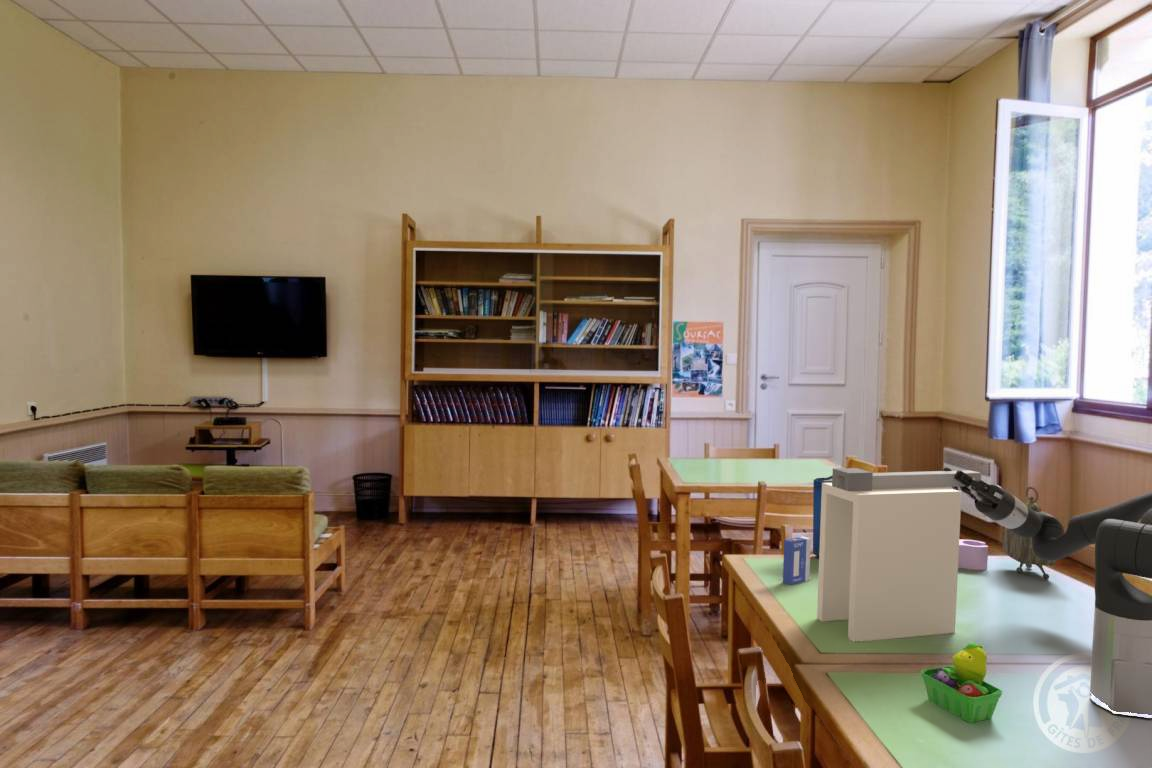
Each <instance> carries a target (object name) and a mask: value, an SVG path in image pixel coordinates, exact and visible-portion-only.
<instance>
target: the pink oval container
mask: <svg viewBox="0 0 1152 768" xmlns="http://www.w3.org/2000/svg"><path fill="white" fill-rule="evenodd" d="M986 544H987V543H986V542H984V541H980V540H973V539H963V538H961V539H960V538H959V557H958V569H966V570H967V569H968V570H972V571H973V570H974V571H985V570H987V569H988V560H989V559H988V557H989V545H986Z"/></svg>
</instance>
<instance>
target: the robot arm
mask: <svg viewBox="0 0 1152 768" xmlns="http://www.w3.org/2000/svg"><path fill="white" fill-rule="evenodd" d="M942 469H943V470H942V471H953V470H952V469H950V468H949V467H944V468H942ZM956 471H957V472H956V475H955V477H954V478H955V479H956V480H958V481H959V482H961V483H962V484H964V485H965V486H956V487H951V489H954V490H958V491H962V494H964V495H966V496H967V497H968V498H969V499H971V500H973V501H974V506H975V509H976V511H978V512H980V513H981V514H983V515H984V516H986V517H987V518H988V519H990V520H991V521H993V522H994V523H996V524H998V525H999V526H1001V527H1003V526H1004V527H1006V528H1007V529H1009V530H1010V531H1012V532H1013V533H1015V534H1016V535H1018V536H1020V537H1023V538H1030V537H1031V539H1032V548H1033V552H1034V554H1035V555H1036V556H1037V557H1039V558H1041V559H1043V560H1048V561H1055V560H1056V561H1059V560H1062V559H1065V558H1067V557H1069V556H1071V555H1073V554H1075V553H1076V552H1078V551H1081V550H1083V549H1084V548H1086V547H1088V546H1090V545H1094V566H1095V567H1094V575H1095V576H1094V595H1095V597H1094V615H1093V616H1094V618H1093V629H1092V630H1093V631H1092V647H1091V648H1092V649H1091V665H1090V685H1089V686H1090V687H1089V693H1090V692H1091V693H1092V694H1093V695H1094V696H1095V697H1096V698H1098V699H1099V700H1100V701H1101V702H1103V703H1105V704H1106V705H1108V707H1109V708H1110V709H1111V710H1113V711H1116V712H1129V713H1130V712H1131V713H1137V714H1148V715H1152V595H1150V594H1148V593H1147V592H1145V591H1143V590H1141V589H1140V588H1138V587H1137V586H1135V585H1133V584H1132V583H1131V582H1130V581H1129V580H1128V579H1127V578H1126V577H1125V575H1124V574H1126V575H1130V576H1134V577H1135V576H1136V577H1140V578H1141V577H1142V578H1146V579H1152V491H1149V492H1146V493H1143V494H1141V495H1138V496H1134V497H1132V498H1130V499H1127V500H1125V501H1123V502H1119V503H1117V504H1114V505H1111V506H1108V507H1105V508H1101V509H1097V510H1093V511H1089V512H1085V513H1080V514H1076V515H1075V516H1072V517H1070V519H1069V520H1068V524H1067V529H1066V531H1065V527H1064V525H1063V523H1062V522H1061V521H1060V520H1059V519H1058V518H1057V517H1055V516H1053V515H1052V516H1053V517H1052V516H1049V515H1045V514H1042V513H1039V512H1035V511H1033V510H1032V509H1031V508H1029V507H1028V506H1026V505H1025V503H1024V502H1022V501H1021V500H1020V499H1019V498H1018V497H1016V496H1015V495H1013V494H1012V493H1010V492H1009V491H1007V490H1006V489H1005V488H1003V487H1002V486H1000V485H998V484H993V483H992V484H988V483H987V482H985V481H984V480H982V479H981V480H976V479H975V478H971V477H970V476H968V475H967V474H965V473H964V472H962V471H963V470H959V469H958V470H956Z"/></svg>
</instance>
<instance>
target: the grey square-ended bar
mask: <svg viewBox="0 0 1152 768" xmlns="http://www.w3.org/2000/svg"><path fill="white" fill-rule="evenodd" d="M957 471H958V470H952V471H943V470H934V471H933V470H932V471H930V470H929V471H928V470H927V471H897V472H896V471H894V472H893V471H891V472H890V471H889V472H872V471H870V470H869V471H868V470H865V469H861V468H858V467H847V468H843V467H841V468H832V475H831V476H832V486H833V487H836V488H839V489H843V490H846V491H871V490H872V489H895V488H925V487H947V488H950V487H951V488H952V487H956V486H965V485H964V484H962V483H961V482H959V481H958V480H956V479H955V478H954V477H955V475H956V472H957ZM961 471H962V472H964V473H965V474H967V475H968V476H970V477H971V478H975V479H976V480H982V472H980V471H975V470H970V469H969V470H968V469H967V470H965V469H964V470H961Z"/></svg>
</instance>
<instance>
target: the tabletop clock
mask: <svg viewBox="0 0 1152 768" xmlns="http://www.w3.org/2000/svg"><path fill="white" fill-rule="evenodd" d="M1029 490H1032V491H1033V492H1034V493H1035V495H1036V498H1034V496H1029ZM1025 495H1026V498H1027V500H1028V501H1029V502H1024V504H1025V505H1026V506H1028V507H1029V508H1031V509H1032V510H1033V511H1035V512H1039V513H1042V514H1045V515H1049V516H1052V517H1054V516H1053V515H1052V514H1050V513H1048V512H1046V511H1043V510H1042V508H1041V506H1040V505H1039V504H1038V503H1037V502H1038V500H1039V492H1038V490H1037V488H1035V487H1034V486H1028V487H1027V488H1026V490H1025ZM1001 537H1002V538H1001V540H1002V544H1001V545H1002V551H1003V552H1004V554H1006V555H1007V556H1008V557H1010V558H1011V559H1012V560H1015V561H1016V562H1018V563H1020V564H1019V566H1018V567H1016V572H1017V573H1018V574H1022V573H1023V565H1025V567H1026V568H1027V569H1032V567H1033V565H1034V566H1037V567H1038V568H1039V570H1040V571H1041V572H1042V578H1043V579H1044V580H1049V579H1050V575H1049V574H1048V573H1046V572H1045V569H1044V567H1043V566H1050V567H1051V566H1052V567H1053V566H1055V565H1056V562H1057V560H1055V561H1048V560H1043V559H1041V558H1039V557H1037V556H1036V555H1035V554H1034V552H1033V548H1032V539H1031V537H1030V538H1023V537H1020V536H1018V535H1016V534H1015V533H1013V532H1012V531H1010V530H1009V529H1007V528H1006V527H1004V526H1002V536H1001Z"/></svg>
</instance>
